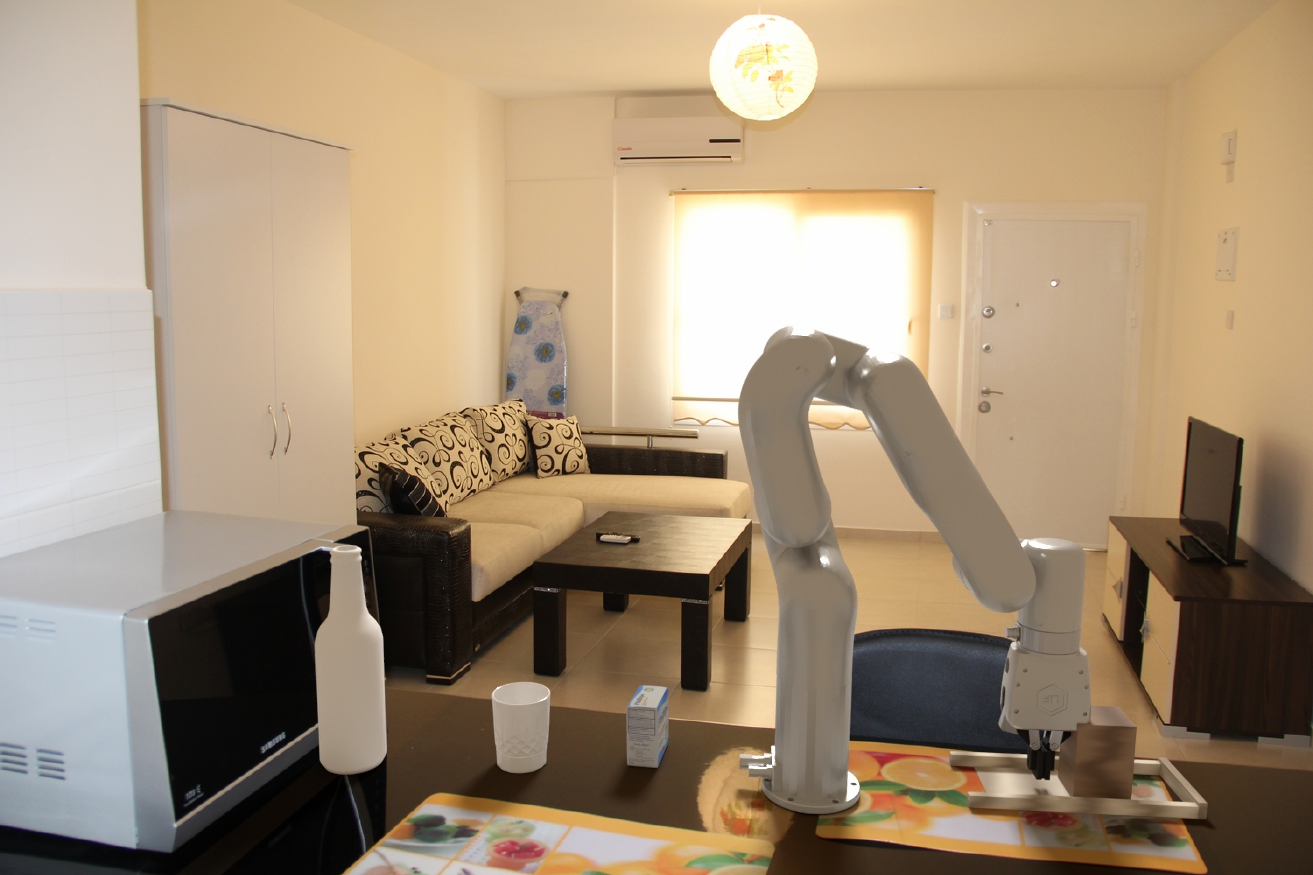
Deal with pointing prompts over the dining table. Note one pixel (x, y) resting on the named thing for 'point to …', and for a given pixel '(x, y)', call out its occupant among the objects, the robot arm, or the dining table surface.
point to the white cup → (521, 726)
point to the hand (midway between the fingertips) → (1039, 774)
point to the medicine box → (647, 726)
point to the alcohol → (350, 673)
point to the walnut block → (1099, 756)
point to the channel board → (1021, 791)
